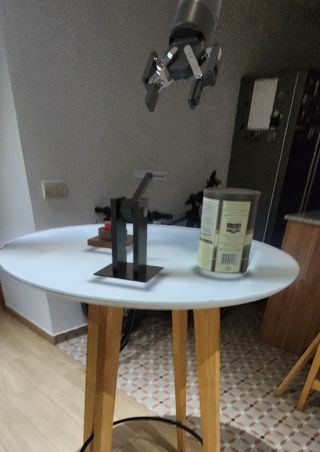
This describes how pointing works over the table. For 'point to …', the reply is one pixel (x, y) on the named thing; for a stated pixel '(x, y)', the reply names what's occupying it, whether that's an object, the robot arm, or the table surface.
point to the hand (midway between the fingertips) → (169, 107)
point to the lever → (139, 192)
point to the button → (107, 225)
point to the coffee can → (227, 229)
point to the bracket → (119, 244)
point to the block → (106, 239)
